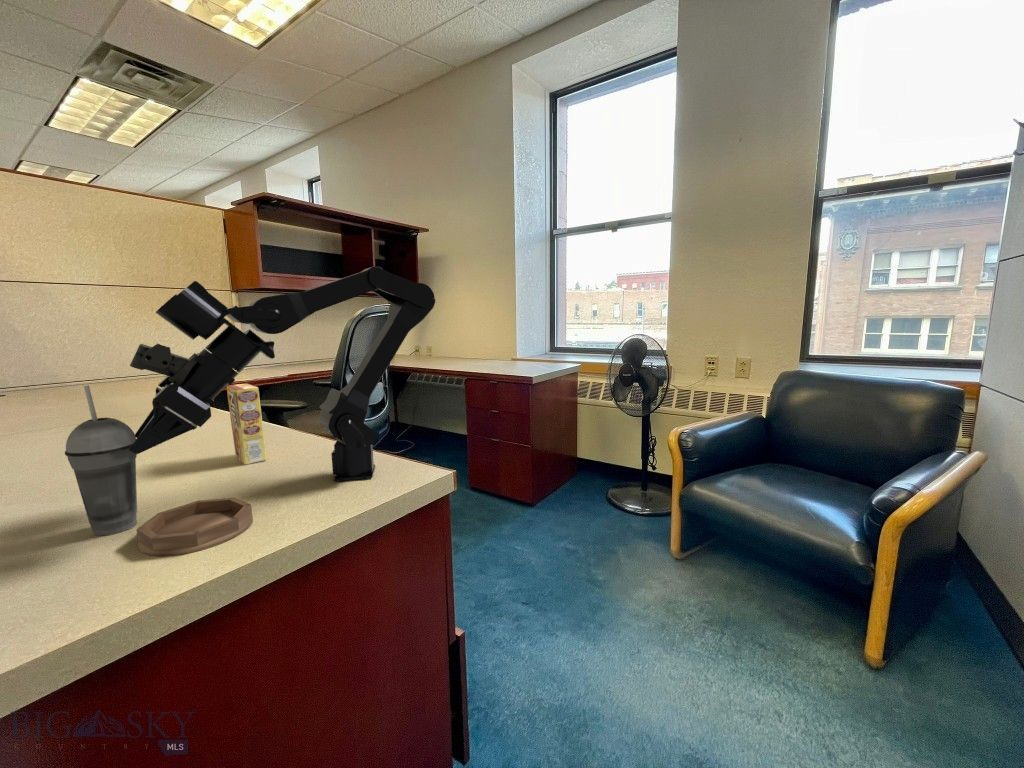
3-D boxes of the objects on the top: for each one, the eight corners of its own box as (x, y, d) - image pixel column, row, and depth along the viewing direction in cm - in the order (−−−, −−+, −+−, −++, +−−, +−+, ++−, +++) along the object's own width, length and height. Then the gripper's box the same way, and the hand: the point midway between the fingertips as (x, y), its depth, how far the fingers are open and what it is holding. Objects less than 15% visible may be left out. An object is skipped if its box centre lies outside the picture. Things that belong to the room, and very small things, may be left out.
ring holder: (265, 507, 66) (264, 493, 66) (231, 548, 54) (230, 532, 54) (171, 516, 64) (169, 501, 63) (113, 562, 52) (111, 544, 51)
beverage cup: (107, 543, 56) (82, 390, 53) (63, 538, 57) (37, 389, 55) (162, 518, 63) (143, 382, 60) (122, 514, 65) (102, 381, 62)
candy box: (267, 460, 89) (260, 386, 87) (244, 465, 86) (235, 389, 84) (255, 451, 95) (248, 382, 93) (233, 456, 92) (225, 385, 90)
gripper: (170, 323, 69) (83, 400, 64) (169, 323, 54) (56, 422, 49) (233, 369, 75) (159, 442, 70) (248, 380, 60) (154, 474, 55)
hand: (135, 444), depth 61 cm, fingers open, 9 cm apart
